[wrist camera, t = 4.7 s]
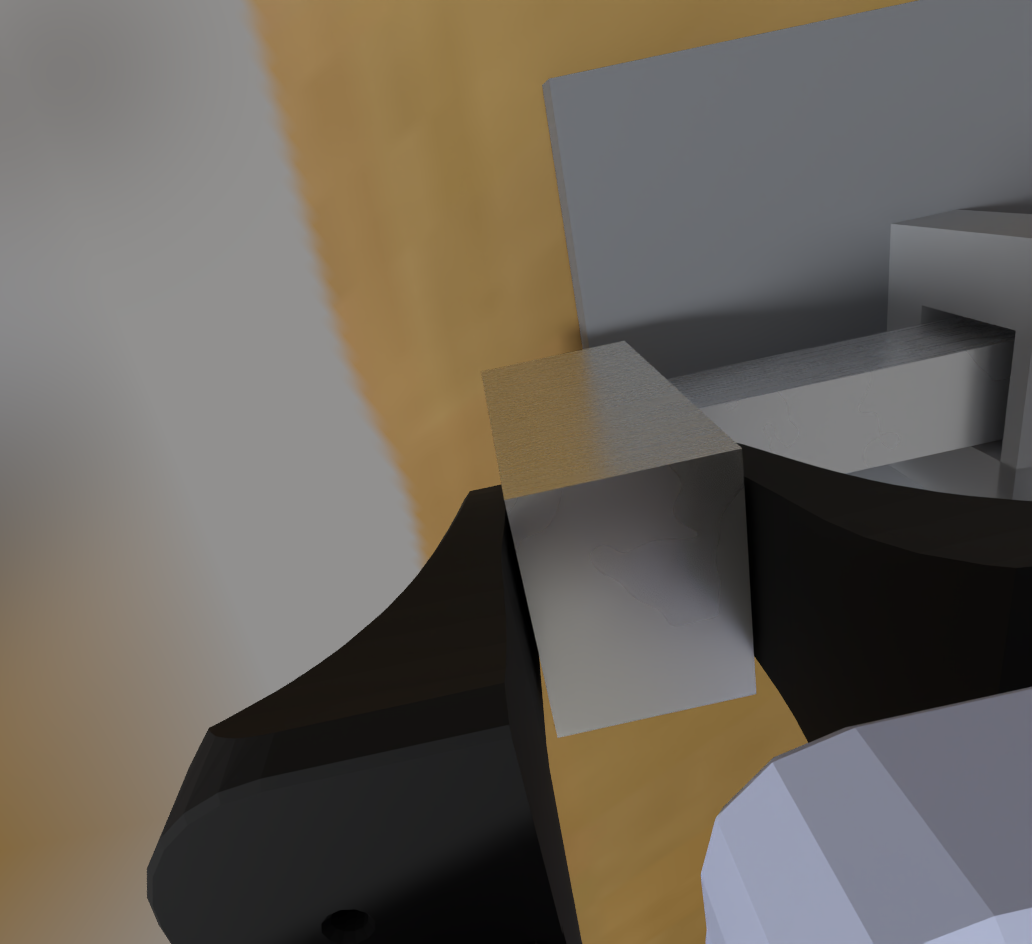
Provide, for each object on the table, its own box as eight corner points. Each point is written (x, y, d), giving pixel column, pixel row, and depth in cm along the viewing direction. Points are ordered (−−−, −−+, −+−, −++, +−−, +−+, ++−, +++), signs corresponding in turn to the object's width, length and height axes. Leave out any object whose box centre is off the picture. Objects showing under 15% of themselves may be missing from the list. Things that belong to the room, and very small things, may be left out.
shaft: (1079, 416, 15) (1425, 545, 10) (517, 538, 15) (557, 737, 10) (1109, 236, 14) (1542, 273, 8) (480, 371, 14) (504, 500, 8)
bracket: (1153, 507, 20) (1375, 611, 15) (625, 623, 20) (681, 764, 15) (1286, -73, 14) (1712, -200, 9) (542, 85, 14) (591, 38, 9)
